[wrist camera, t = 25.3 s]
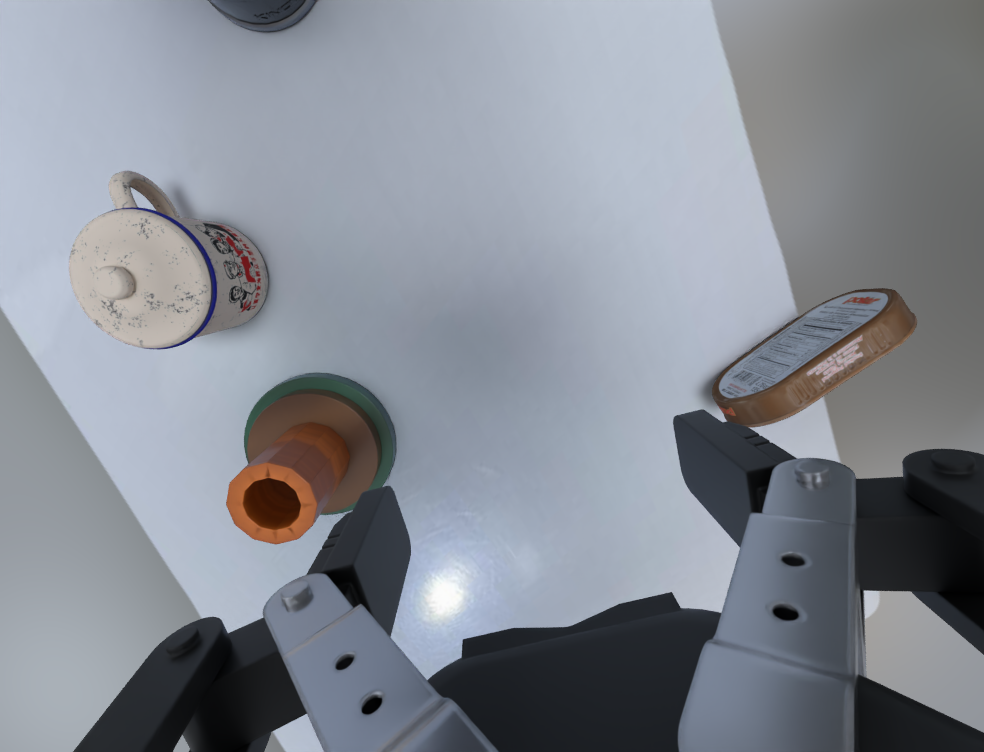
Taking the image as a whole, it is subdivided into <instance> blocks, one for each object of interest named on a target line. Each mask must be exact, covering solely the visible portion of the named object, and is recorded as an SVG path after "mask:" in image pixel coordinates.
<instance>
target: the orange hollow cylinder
mask: <svg viewBox="0 0 984 752" xmlns="http://www.w3.org/2000/svg"><path fill="white" fill-rule="evenodd" d="M349 460H350V455H349V452H348V449H347V447H346V444H345V441H344V440H343V438H341V437H340V436H339V435H338V434H337V433H336V432H335V431H333V430H332V429H331V428H330V427H328V426H324V425H320V424H316V423H312V422H308V423H304V424H300V425H296V426H292V427H291V428H290V429H289V430H287V431H286V432H285V433H284V434H283V435H282V436H281V437H279V438H278V439H277V440H276V441H275V442H274V443H273V444H271V445H270V446H269V447H268V448H267V449H266V450H264V451H263V452H262V453H261V454H260V455H259V456H258V457H256V458H255V459H254V460H253V461H252V462H251V463H250V464H248V465H247V466H246V467H245V468H244V469H243V470H242V471H241V472H240V473H239V474H238V475H237V476H236V477H235V478H234V479H233V480H232V481H231V482H230V484H229V490H228V496H227V502H226V505H227V508H228V510H229V512H230V514H231V517H232V519H233V521H234V524H235V525H236V526H237V527H239V528H240V529H241V530H242V531H244V532H245V533H246V534H247V535H249V536H250V537H251V538H252V539H255V540H259V541H263V542H268V543H272V544H280V543H284V542H288V541H292V540H297V539H299V538H300V537H301V536H302V535H303V534H304V533H305V532H306V531H307V530H308V529H309V528H310V527H312V526H313V524H314V523H315V521H316V520H317V518H318V516H319V515H320V513H321V512H322V510H323V509H324V507H325V506H326V504H327V503H328V501H329V499H330V498H331V496H332V495H333V493H334V492H335V490H336V489H337V487H338V485H339V484H340V482H341V481H342V479H343V478H344V476H345V475H346V473H347V469H348V464H349Z"/></svg>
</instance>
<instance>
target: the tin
mask: <svg viewBox="0 0 984 752" xmlns="http://www.w3.org/2000/svg"><path fill="white" fill-rule="evenodd" d="M916 325H917V319H916V316H915V315H914V313H912V312H911V311H910V310H909V308H908V307H907V305H906V304H905V302H904V300H903V299H902V297H901V296H900V295H899V294H898V293H897V292H896V291H895V290H892V289H883V288H882V289H862V290H855V291H852V292H848V293H845V294H842V295H840V296H837V297H835V298H832V299H830V300H828V301H825V302H823V303H822V304H820V305H818V306H816V307H814V308H812V309H811V310H809V311H808V312H806V313H805V314H803V315H802V316H800V317H799V318H797V319H796V320H794V321H793V322H791V323H790V324H788V325H787V326H786V327H784V328H783V329H781V330H780V331H778V332H777V333H775V334H774V335H772V336H771V337H770V338H768V339H767V340H765V341H764V342H762V343H761V344H759V345H758V346H757V347H755V348H754V349H752V350H751V351H749V352H748V353H747V354H745V355H744V356H742V357H741V358H740V359H738V360H737V361H735V362H734V363H733V364H731V365H730V366H729V367H728V368H727V369H725V370H724V371H723V372H722V373H721V375H720V376H719V377H718V378H717V380H716V381H715V383H714V385H713V388H712V396H713V398H714V400H715V402H716V404H717V405H718V407H719V408H720V409H721V411H722V412H723V413H724V417H725V419H726V420H727V421H729V422H732V423H736V424H740V425H744V426H747V427H759V426H764V425H769V424H772V423H775V422H778V421H781V420H783V419H786V418H788V417H790V416H792V415H794V414H796V413H798V412H800V411H802V410H803V409H805V408H806V407H808V406H810V405H811V404H813V403H814V402H816V401H817V400H819V399H820V398H821V397H823V396H824V395H826V394H828V393H829V392H831V391H832V390H833V389H835V388H837V387H838V386H840V385H841V384H843V383H844V382H845V381H847V380H848V379H850V378H852V377H853V376H855V375H856V374H858V373H859V372H861V371H862V370H864V369H865V368H867V367H868V366H870V365H872V364H873V363H875V362H876V361H877V360H879V359H881V358H882V357H884V356H885V355H887V354H888V353H890V352H891V351H893V350H894V349H896V348H897V347H899V346H900V345H901V344H902V343H904V342H905V341H906V340H907V339H908V337H909V336H910V335H911V334H912V333H913V331H914V330H915V328H916Z"/></svg>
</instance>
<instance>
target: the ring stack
mask: <svg viewBox="0 0 984 752" xmlns="http://www.w3.org/2000/svg"><path fill="white" fill-rule="evenodd" d="M308 422H312V423H316V424H320V425H324V426H328V427H330V428H331V429H332V430H333V431H335V432H336V433H337V434H338V435H339V436H340V437H341V438H343V440H344V441H345V444H346V447H347V449H348V452H349V455H350V460H349V464H348V469H347V473H346V475H345V476H344V478H343V479H342V481H341V482H340V484H339V485H338V487H337V489H336V490H335V492H334V493H333V495H332V496H331V498H330V499H329V501H328V503H327V504H326V506H325V507H324V509H323V510H322V512H321V513H320V515H330V514H338V513H343V512H347V511H350V510H353V509H354V507H355V505H356V503H357V501H358V500H359V498H360V496H361V494H362V492H364V491H368V490H372V489H377V488H381V487H382V486H383V485H384V483H385V481H386V479H387V477H388V475H389V473H390V471H391V469H392V466H393V463H394V459H395V453H396V438H395V432H394V428H393V425H392V422H391V420H390V417H389V415H388V414H387V412H386V410H385V409H384V407H383V406H382V405H381V403H380V402H379V401H378V400H377V399H376V398H375V397H374V396H373V394H371V393H370V392H369V391H368V390H366V389H365V388H364V387H362V386H360V385H359V384H357V383H355V382H353V381H351V380H349V379H346V378H343V377H340V376H337V375H332V374H323V373H313V374H305V375H299V376H296V377H293V378H290V379H288V380H286V381H284V382H282V383H280V384H279V385H277V386H276V387H274V388H273V389H271V390H270V391H268V392H267V393H266V394H265V395H264V396H263V397H261V398H260V400H259V401H258V402H257V403H256V405H255V406H254V408H253V409H252V411H251V413H250V415H249V418H248V420H247V424H246V428H245V435H244V447H245V453H246V458H247V461H248V464H250V463H251V462H252V461H253V460H254V459H255V458H256V457H258V456H259V455H260V454H261V453H262V452H263V451H264V450H266V449H267V448H268V447H269V446H270V445H271V444H273V443H274V442H275V441H276V440H277V439H278V438H279V437H281V436H282V435H283V434H284V433H285V432H286V431H287V430H289V429H290V428H291V427H292V426H296V425H300V424H304V423H308Z"/></svg>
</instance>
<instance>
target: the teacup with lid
mask: <svg viewBox="0 0 984 752" xmlns="http://www.w3.org/2000/svg"><path fill="white" fill-rule="evenodd" d="M130 187H132V188H134V189H135V190H137V191H138V192H140V193H141V194H142V195H143V196H145V197H146V198H147V199H148V200H149V201H150V203H151V204H152V205H153V206H154V208H155V209H156V211H154V210H150V209H145V208H138V207H137V205H136V203H135V200H134V198H133V196H132V193H131V189H130ZM109 192H110V196H111V198H112V201H113V203H114V205H115V207H116V210H112V211H110V212H107V213H105V214H102V215H100V216H98V217H96V218H95V219H93V220H92V221H91V222H89V223H88V224H87V225H86V226H85V227H84V228H83V230H82V231H81V232H80V233H79V235H78V236H77V238H76V240H75V242H74V244H73V247H72V250H71V254H70V260H69V273H70V280H71V284H72V288H73V291H74V294H75V296H76V298H77V300H78V302H79V304H80V306H81V307H82V309H83V310H84V312H85V313H86V314H87V316H88V317H89V318H90V319H91V320H92V321H93V322H94V323H95V324H96V325H97V326H98V327H99V328H100V329H102V330H103V331H104V332H106V333H107V334H109V335H110V336H112V337H113V338H115V339H117V340H119V341H121V342H124V343H126V344H129V345H132V346H136V347H141V348H147V349H168V348H173V347H177V346H180V345H182V344H185V343H186V342H188V341H190V340H192V339H193V338H196V337H200V336H203V335H207V334H211V333H214V332H218V331H222V330H225V329H229V328H233V327H237V326H239V325H242V324H244V323H246V322H247V321H249V320H250V319H251V318H253V317H254V316H255V315H256V314H257V312H258V311H259V310H260V308H261V307H262V305H263V303H264V301H265V298H266V294H267V288H268V276H267V270H266V267H265V264H264V261H263V259H262V257H261V255H260V253H259V251H258V250H257V248H256V247H255V246H254V245H253V243H252V242H251V241H250V240H249V239H248V238H247V237H246V236H244V235H243V234H242V233H240V232H239V231H237V230H235V229H234V228H232V227H229V226H227V225H224V224H221V223H217V222H210V221H203V220H196V219H189V218H181V217H179V215H178V213H177V211H176V209H175V207H174V206H173V204H172V202H171V201H170V199H169V198H168V197H167V195H166V194H165V193H164V192H163V191H162V190H161V189H160V188H159V187H158V186H157V185H156V184H154V183H153V182H152V181H151V180H149V179H148V178H146V177H144V176H143V175H141V174H138V173H136V172H132V171H123V172H119V173H117V174H115V175H113V176H112V177H111V179H110V182H109Z"/></svg>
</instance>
